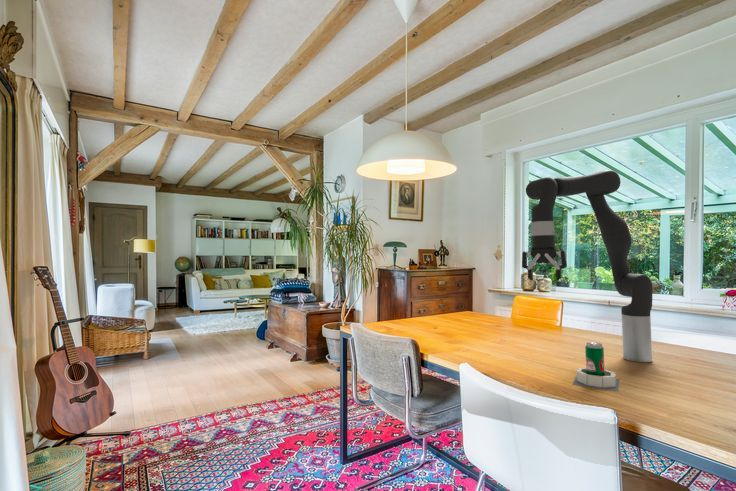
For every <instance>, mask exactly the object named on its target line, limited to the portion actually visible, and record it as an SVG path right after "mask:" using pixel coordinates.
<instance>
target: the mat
mask: <svg viewBox="0 0 736 491" xmlns="http://www.w3.org/2000/svg"><path fill="white" fill-rule="evenodd" d="M575 375H576V376H575V377H574V380H573V382H572V385H573V386H578V387H585V388H591V389H598V390H604V391H610V392H616V393H618V392H619V388H620V378H616V386H615V387H605V388H604V387H596V386H590V385H586V384H583V383H581V382H579V381H577V374H575Z"/></svg>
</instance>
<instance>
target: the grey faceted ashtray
mask: <svg viewBox="0 0 736 491" xmlns="http://www.w3.org/2000/svg"><path fill="white" fill-rule="evenodd" d="M604 371H605V376H595V375H589V374H586V367H579V368H577V370H576V375H577V381H579V382H581V383H583V384H586V385H590V386H596V387H604V388H605V387H615V386H616V379H617V376H616V372H615V371H610V370H608V369H606V368H604Z"/></svg>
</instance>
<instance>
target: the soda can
mask: <svg viewBox="0 0 736 491" xmlns="http://www.w3.org/2000/svg"><path fill="white" fill-rule="evenodd" d="M584 349H585V350H584V351H585V352H584V353H585V368H586V374H589V375H595V376H605V371H604V370H605V354H604V353H605V352H604V351H605V350H604V349H605V348H604V346H603V344H602V343H600V342H593V341H590V342H586V343H585V346H584Z"/></svg>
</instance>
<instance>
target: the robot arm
mask: <svg viewBox="0 0 736 491" xmlns="http://www.w3.org/2000/svg"><path fill="white" fill-rule="evenodd" d="M620 187H621V177H620V175H619V174H618V173H617V172H616V171H614V170H612V169H605V170H601V171H598V172H597V171H596V172H594V173H591V174H588V175H587V174H586V175H578V176H577V175H574V176H562V177H561V176H560V177H555V178H553V177H550V176H548V177H547V176H546V177H543V178H539V179H535V180H531V181H530V182H529V183H528V184H527V185H526V188H525V194H526V196H527V197H528V198H529V199H530V200H531V199H532V200H535V201H536V200H537V201H538V200H539V201H538V204H536V205H534V206H533V207H532V208H531V214H530V215H531V226H530V228H531V229H530V235H531V250H530V251H522V253H521V254H522V255H521V257H522V258H521V268H522V269H526V270H527V278H528V280H529V281H533V280H534V269H533V268H534V267H535V266H536V264H543V263H544V264H550V263H551V265H552V266H554V267H555V269H556V270H555V281H556V282H560V280H561V279H562V270H563V269H566V268H567V267H568V263H567V255H566V250H559V251H557V250H556V240H555V239H556V237H555V235H556V233H555V225H554V208H555V204H556V200H557V198H558V197H559V198H560V197H569V196H575V195H580V194H586V197H587V200H588V201H589V203H590V206H591V208H592V211H593V213H594V216H595V219H596V221H597V224H598V227H599V231H600V234H601V238H602V241H603V243H604V246H605V249H606V253H607V256H608V259H609V263H610V268H611V272H612V279H613V283H614V288H615V289H616V291H617V293H618V294H619V295H620V296H623V297H629V298H630V297H631V302H630V303H629V304H627V305H624V306H622V307H621V314H620V315H621V331H622V333H621V335H622V358H623V360H624V359H625V360H627V361H632V362H639V363H650V362H653V351H652V350H653V348H652V346H653V345H652V326H651V325H652V324H651V320H652V319H651V311H652V308H653V292H654V291H653V283H652V280H651V278H650V276H648V275H647V274H644V273H631V270H630V268H629V264H628V257H629V253H630V250H631V247H632V242H633V239H632V235H631V233H630V229H629V226H628V223H627V222H626V221H625V220H624V218H622V217H621V216H620V215H619V214H618V213H616V212H615V211H614V210H613V208H611V206H609V204H608V202H607V199H606V197H605V195H606V196H607V195H609V194H613V193H616V192H617V191H618V190H619V188H620ZM557 255H558V257H559V258H560V259H561V265H560V264H559V263H558V262H557V261H556V259H555V258H556V257H557ZM530 256H531V258H532V260H531V262H530V263H529V265H528V258H530Z"/></svg>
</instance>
